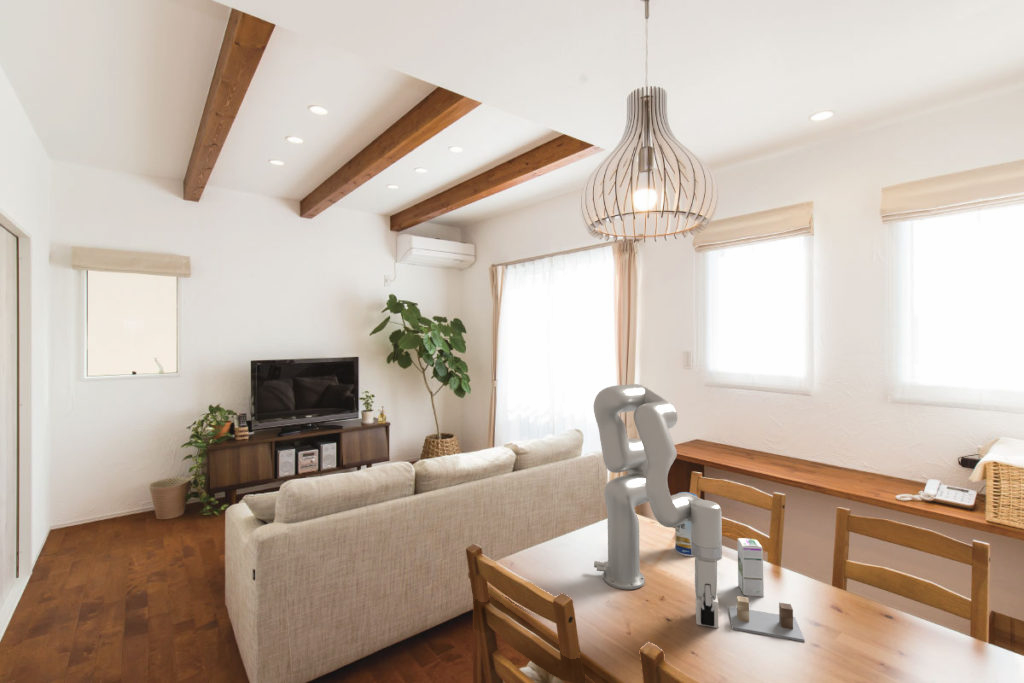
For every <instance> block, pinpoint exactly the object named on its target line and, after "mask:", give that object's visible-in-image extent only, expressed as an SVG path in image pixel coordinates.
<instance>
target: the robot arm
mask: <svg viewBox="0 0 1024 683" xmlns="http://www.w3.org/2000/svg"><path fill="white" fill-rule="evenodd" d="M629 412H633V421H634V424H635V427H636V430H637V434H638V436H639V438H640V439H639V438H628V432H627V427H626V424H625V422H624V420H623V419H622V417H621V416H620V414H621V413H629ZM593 413H594V417H595V421H596V424H597V427H598V428H597V429H598V433H599V441H600V447H601V452H602V453H601V454H602V459H603V463H604V466H605V469H607V470H608V472H611V473H615V474H617V473H618V474H619V473H624V472H627V474H625V475H621V476H618V477H615V478H613V479H611V480H610V481H608V482H607V483H606V484H605V486H604V487H605V488H604V492H603V495H604V501H605V506H606V513H607V515H606V516H607V561H600V560H599V561H598V560H594V562H593V568H596V571H598V572H602V579H603V581H604V582H605V583H606V584H608V585H609V586H610V587H613V588H616V589H620V590H637V589H639V588H641V587H644V585H645V583H646V578H645V576H644V574H643V573H642V572H641V570H640V568H641V567H640V564H641V563H640V522H639V517H638V515H637V514H636V510H635V508H636V507H637V506H640V505H643V504H646V503H648V504H649V505H650V508H651V509H650V510H651V511H652V513H653V515H654V516H653V517H654V518H655V519H656V521H657V522H658V523H659V524H660V525H661V526H663V527H664V528H675V526H678V525H680V524H683V523H685V522H691V554H692V555H693V556H692V557H694V589H695V598H696V597H697V598H699V597H700V598H702V608H701V624H702V625H701V626H704V625H708V626H707V627H709V626H714V610H713V599H714V600H715V599H716V592H717V589H718V588H717V586H718V561H721V560H722V558H723V543H722V542H723V538H722V537H723V536H722V535H723V532H722V529H723V528H722V527H723V526H722V525H723V523H722V520H723V519H722V518H723V517H722V508H721V506H720V504H718V503H717V502H714V501H713V500H707V499H703V498H700V497H698V496H697V497H696V496H695V495H696V494H695V495H692V494H690V493H691V492H689V493H687V492H688V491H681V492H682V493H680V492H678V493H675V494H672V495H671V492H670V489H669V484H668V483H669V482H668V476H669V475H668V474H669V472H670V469H671V466H672V465H673V463H674V461H675V460H676V458H677V456H678V452H677V448H676V445H675V444H674V441H673V438H672V436H671V433H670V429H672V428H673V427H674V426H675V425H676V424H677V422H678V413H677V410H676V408H675V407H674V406H673V405H672V404H671V403H670V402H669V401H668V400H666V399H665V398H663V397H662V396H660V395H659V394H657V393H655V392H654V391H652V390H651V389H649V388H648V387H645V386H644V385H642V384H639V383H638V384H636V383H633V384H632V383H631V384H620V385H618V384H617V385H611V386H608V387H605V388H603V389H601V390H600V391H599V392H598V393H597V394H596V396H595V397H594V402H593ZM703 594H705V596H703ZM704 600H705V602H704Z"/></svg>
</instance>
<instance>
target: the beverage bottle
mask: <svg viewBox="0 0 1024 683" xmlns="http://www.w3.org/2000/svg"><path fill="white" fill-rule="evenodd" d="M682 492H683V491H681V492H679V493H682ZM686 492H687V493H690V494H692V495H695V496H696V497H698V495H697V494H695V493H694V492H693V493H692V492H690V491H689V492H688V491H686ZM674 530H675V532H674V533H675V534H674V535H675V537H674V538H675V539H674V541H675V542H674V549H675V552H676V553H678V554H679V555H681V556H686V557H694V556H693V555H692V554H691V522H685V523H683V524H680V525H678V526H675V527H674Z"/></svg>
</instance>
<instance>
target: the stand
mask: <svg viewBox="0 0 1024 683" xmlns="http://www.w3.org/2000/svg"><path fill="white" fill-rule="evenodd" d="M728 613H729V618H730V623H731V628H732V630H735V631H741V632H747V633H752V634H757V635H764V636H769V637H774V638H781V639H785V640H793V641H797V642H802V643H805V638H804V635H803V632H802V629H801V628H800V626H799V623H798V621H797V619H796V617H795V616H793V629H787V628H781V625H780V622H779V614H778V613H773V612H767V611H766V612H765V611H759V610H754V609H749V622H746V621H740V620H738V617H737V606H736V607H734V606H728Z"/></svg>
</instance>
